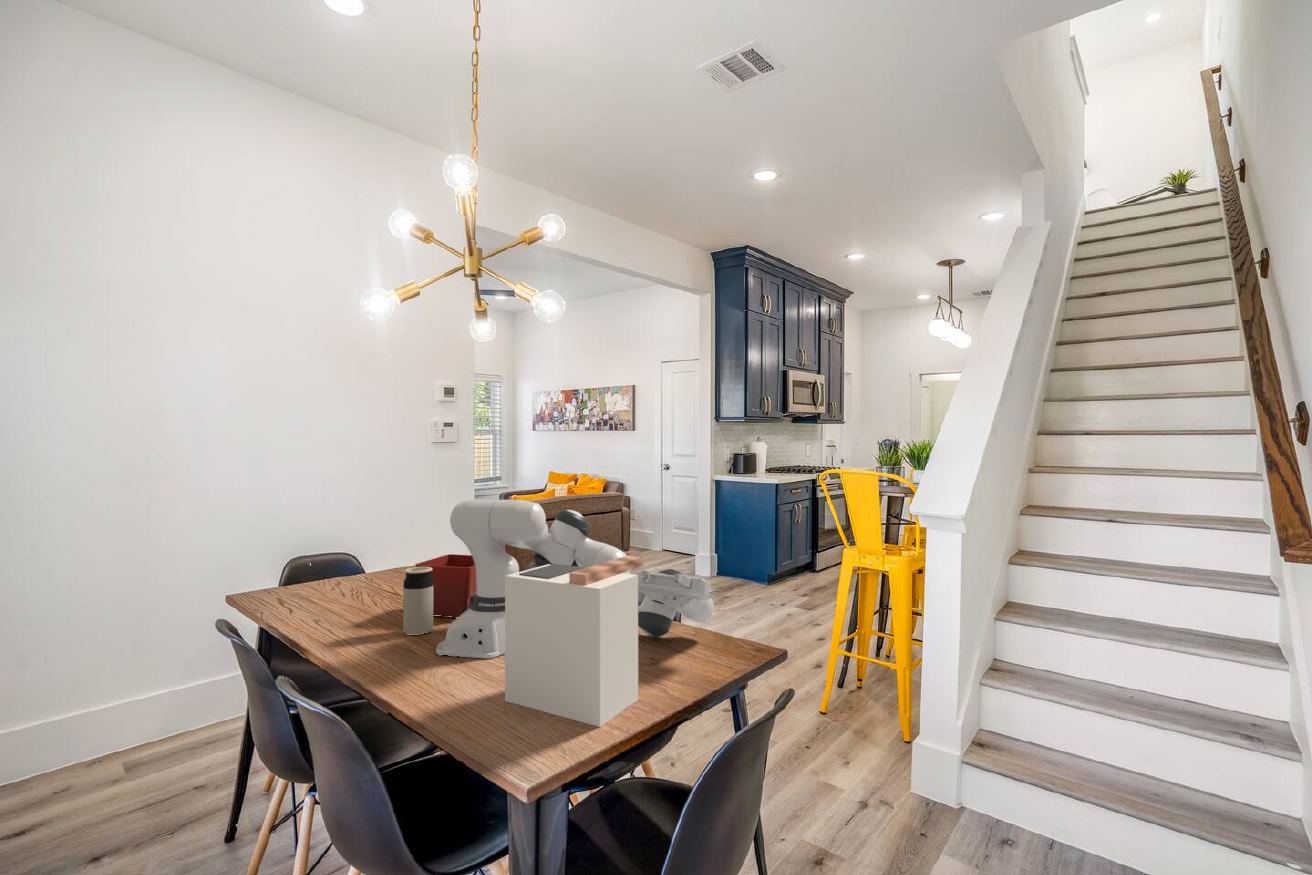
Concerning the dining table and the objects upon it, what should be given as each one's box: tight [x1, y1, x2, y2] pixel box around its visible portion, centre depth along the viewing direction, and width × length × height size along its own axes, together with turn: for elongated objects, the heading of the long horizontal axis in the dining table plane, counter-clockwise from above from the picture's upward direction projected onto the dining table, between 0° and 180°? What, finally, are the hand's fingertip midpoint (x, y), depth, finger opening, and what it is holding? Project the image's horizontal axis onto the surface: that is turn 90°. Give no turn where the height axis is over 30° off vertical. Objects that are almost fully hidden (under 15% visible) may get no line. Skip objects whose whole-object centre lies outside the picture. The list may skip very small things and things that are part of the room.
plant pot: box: [414, 553, 476, 617], centre depth 191 cm, size 19×19×17 cm
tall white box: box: [504, 564, 639, 728], centre depth 125 cm, size 14×24×26 cm, turn 61°
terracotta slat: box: [569, 555, 644, 585], centre depth 126 cm, size 22×4×2 cm, turn 151°
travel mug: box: [402, 566, 434, 634], centre depth 171 cm, size 8×8×18 cm
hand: (659, 575), depth 145 cm, fingers open, 8 cm apart
